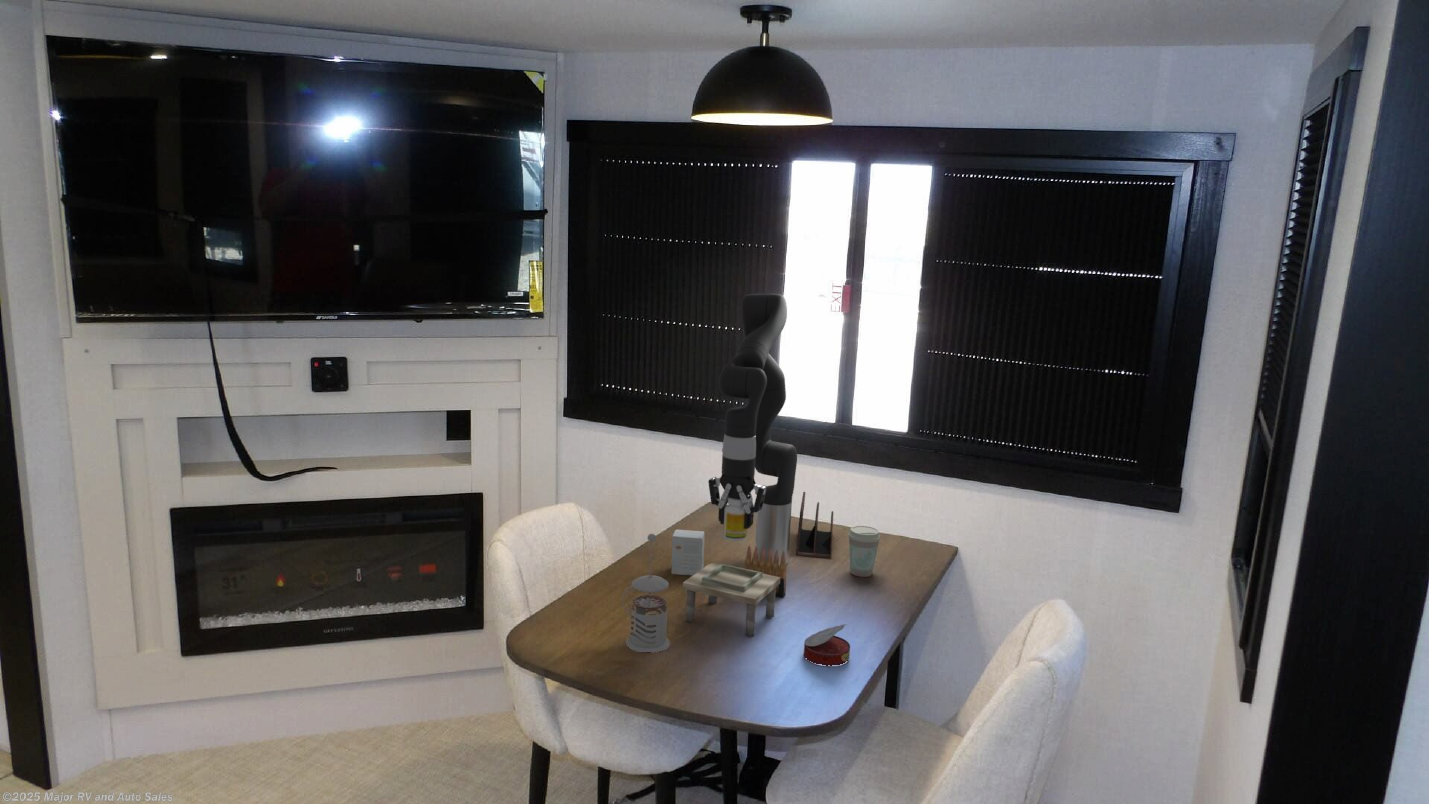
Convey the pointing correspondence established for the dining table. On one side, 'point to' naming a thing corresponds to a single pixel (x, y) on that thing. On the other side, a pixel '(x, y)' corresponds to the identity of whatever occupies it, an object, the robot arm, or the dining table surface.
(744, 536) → the supplement bottle
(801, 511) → the letter holder
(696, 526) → the dining table surface
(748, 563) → the ammunition clip
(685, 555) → the small box
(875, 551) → the coffee cup
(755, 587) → the miniature tray table
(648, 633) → the french press
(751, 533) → the dining table surface
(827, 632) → the canned food
